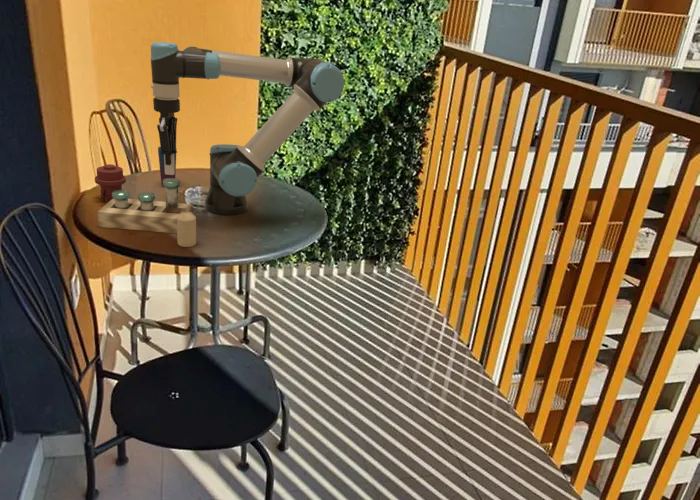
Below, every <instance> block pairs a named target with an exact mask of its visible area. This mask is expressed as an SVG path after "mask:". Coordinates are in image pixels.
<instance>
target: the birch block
mask: <svg viewBox="0 0 700 500" xmlns="http://www.w3.org/2000/svg"><path fill="white" fill-rule="evenodd" d="M153 202H154V211H153V212H152V211H141V206H140V201H139V200H138V198H137V199H136V198H128V204H129V208H128V209H118V208H115V199H114V198H113V199H112V200H111V201H109V202H106V204H105V205H104V206H102V207H101V208H100V209H98V211H97V224H98V227H99V228H107V229H108V228H109V229H121V230H132V231H133V230H135V231H142V232H143V231H144V232H145V231H146V232H158V233H167V234H177V217H178V216H179V215H180V214H181V213H182V212H191V213H192V214H193V215H194V204H193V203H192V204H191V203H181V202H179V206H178V207H176V208H168V207H166V201H161V200H160V201H159V200H154V201H153Z"/></svg>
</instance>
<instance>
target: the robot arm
mask: <svg viewBox="0 0 700 500" xmlns="http://www.w3.org/2000/svg"><path fill="white" fill-rule="evenodd" d="M150 68H151V69H150V70H151V83H152V84H150V88H151V89H152V95H153V96H154V97H153V99H152V100H153V110H154V111H155V112H157V113H159V118H158V123H159V124H157V125H156V127H157V131H158V137H159V144H160V145H159V147H160V146H161V154H164V165H165V174H167V175H174V174H175V163H174V154H173V153H176V154H177V153H178V151H177V125H178V117H176V116H175V113H178V112H180V111H181V101H180V99H179V98H180V96H181V95H180V93H181V92H180V78H182V79H184V78H185V79H203V80H204V79H206V80H217V79H219V78H220V76H221V77H222V76H223V77H229V78H239V79H247V80H253V81H254V80H255V81H263V82H264V81H265V82H273V83H280V84H281V83H282V84H284V85H285V87H287V88H288V87H289V88H293V92H292V93H291V94H290V96H289V97H288V98H287V99H286V100H285V101H283V104H281V106H279V108H277V110H276V111H275V112H274V113H273V114H272V115H271V116H270V117H269V118H268V119H267V120H266V122H265V123H264V124H263V125H262V126H261V127H260V128H259V129H258V130H257V131H256V132H255V134H254V135H253V136H251V138H250V139H249V140H248V141H247V143H246V144H245V145H238V144H225V143H221V144H214V145H212V146H211V147H210V149H209V150H210V151H209V189H208V192H207V194H206V198H205V202H204V207H205V210H207V211H208V212H210V213H212V214H213V213H214V214H217V215H227V216H228V215H238V214H243V213H245V212H247V211H248V206H249V205H248V204H249V203H248V202H249V201H248V199H247V197H246V196H247V195H249V194H251V193H252V192H253V191H254V189H255V188H256V187H257V184H258V178H259V177H260V176H261V175H262V174H263V173H264V171H265V163H266V162H267V161H269V159H270V158H271V157H272V156H273V155H274V154H275V152H277V150H278V149H279V148H280V147H281V146H282V145H283V144H284V143H286V141H287V140H288V138H289V137H291V135H292V134H293V133H294V132H295V131H296V130H297V129H298V127H300V125H301V124H302V123H303V122H304V121H305V120H306V119H307V118H308V117H309V116H310V115H311V114H312V113H313V112H317V111H321V110H322V109H323V107H324V106H326V104H328V103H331V102H334V101H336V100H338V99H339V98H340V96H341V95H342V93H343V92H344V88H345V78H344V75H343V73H342V71H341V70H340V68H338V67H337V66H335V64H334V63H331V62H329V61H325V60H324V61H323V60H322V59H319V58H312V57H311V58H304V57H303V58H300V57H290V56H289V57H287V58H286V59H281V58H273V57H267V56H259V55H252V54H244V53H236V52H229V51H221V50H215V49H214V50H213V49H206V48H198V47H196V46H187V47H185V48H184V49H183V50H180V49H179V47H178V44H176V43H174V42H167V41H154V42H152V43H151V45H150ZM175 149H176V151H175ZM175 175H176V174H175Z"/></svg>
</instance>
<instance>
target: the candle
mask: <svg viewBox="0 0 700 500" xmlns="http://www.w3.org/2000/svg"><path fill="white" fill-rule="evenodd" d="M176 234H177V235H176V236H177V245H178V246H180V247H183V248H190V247H194V246H196V244H197V216H196V215H194V213H193V214H192V213H191V212H182V213H181V214H180V215H179V216H178V217H177V233H176Z"/></svg>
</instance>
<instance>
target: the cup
mask: <svg viewBox="0 0 700 500" xmlns="http://www.w3.org/2000/svg"><path fill="white" fill-rule="evenodd" d="M157 151H158V152H157V153H158V164H159V173H160V182H161V187H163V188H165V187H164V186H163V180H164V179H167V178H175V179H176V174H177V173H176V172H177V170H176V167H177V153H173V154H174V163H175V174H174V175H167V174H165V165H164V154H161V146H160V145H159V146H158V147H157ZM175 151H177V148H176V149H175Z"/></svg>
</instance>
